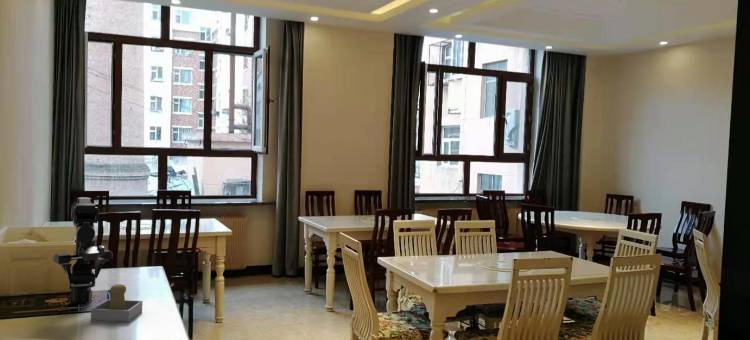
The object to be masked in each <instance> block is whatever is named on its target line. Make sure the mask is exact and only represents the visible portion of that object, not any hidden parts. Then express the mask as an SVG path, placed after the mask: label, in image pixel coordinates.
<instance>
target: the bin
mask: <svg viewBox="0 0 750 340" xmlns="http://www.w3.org/2000/svg"><path fill="white" fill-rule="evenodd" d="M110 302H111V299H105V300H104V301H103V302H101V303H98V304H97V305H96V306H94V307H92V308H91V309H90V322H99V323H126V324H128V323H131V321H132V320H134V319H135V318H137V317H138V316H139V315H141V314H142V313H143V300H131V299H130V300H128V299H127V300H126V299H125V307H126V310H112V309H109V307H110Z"/></svg>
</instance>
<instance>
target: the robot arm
mask: <svg viewBox="0 0 750 340" xmlns="http://www.w3.org/2000/svg"><path fill="white" fill-rule="evenodd" d="M76 200H77V201H76V202H74V203H73V204H72V205H71V214H70V215H71V217H70V219H71V220H72V225H73V226H74V227H75V229H76V230H75V233H76V234H75V239H74V243H75V250H74V251H73V254H70V253H67V252H63V253H62V252H61V253H60V252H59V253H55V254H54V256H53V262H54V263H55V264H58V265H60V266H61V268H62V269H63V271H64V273H65V276H66V279H67V281H68V289H70V301H69V302H68V305H84V306H85V305H87V304H88V303H89V304H90V303H91V302H93V290H92V288H94V287H96V279H98V277H99V274H100V272H101V270H102V267H103V266H104V265H105V263H106V262H109V260H112V259H113V257H114V256H113V255H114V254H113V252H112V251H111V250H109V249H105V246H104V245H98V246H96V244H95V243H96V242H95V240H94V238H95V236H96V231H95V225H94V224H98V223H99V222H98V221H100V209H99V207H98V206H96V203H93V202H92V198H91V197H86V196H85V197H82V196H80V197H77V199H76ZM75 260H76V261H75ZM72 261H75V263H73V265H72V263H70V262H72ZM90 261H94V271H93V266H92V263H91V262H90Z"/></svg>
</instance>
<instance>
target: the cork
mask: <svg viewBox="0 0 750 340" xmlns="http://www.w3.org/2000/svg"><path fill="white" fill-rule="evenodd" d="M109 291H110V294H111V295H110V296H111V297H110V300H111V302H110V307H109V309H112V310H126V307H125V300H126V298H125V293H126V292H127V287H126V285H125V284H121V283H120V284H119V283H118V284H113V285H112V286H111V287H110V289H109Z"/></svg>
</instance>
